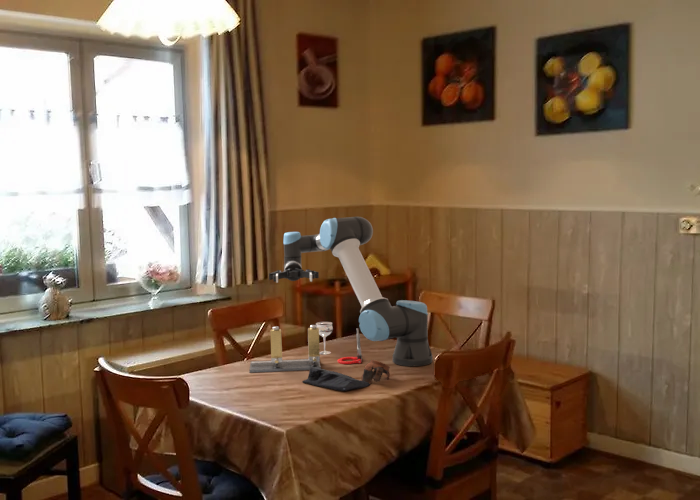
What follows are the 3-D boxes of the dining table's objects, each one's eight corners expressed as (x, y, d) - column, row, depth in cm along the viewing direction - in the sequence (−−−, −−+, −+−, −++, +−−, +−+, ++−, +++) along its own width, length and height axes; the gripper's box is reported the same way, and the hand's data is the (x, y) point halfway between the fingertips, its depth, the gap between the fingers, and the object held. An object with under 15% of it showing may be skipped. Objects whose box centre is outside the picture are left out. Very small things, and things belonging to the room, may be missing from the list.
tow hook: (337, 365, 285) (361, 364, 285) (334, 332, 284) (359, 331, 283) (338, 360, 294) (362, 358, 293) (336, 327, 292) (360, 326, 292)
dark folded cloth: (341, 396, 248) (340, 382, 248) (298, 383, 264) (298, 369, 264) (374, 386, 258) (373, 372, 258) (331, 374, 274) (331, 361, 274)
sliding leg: (282, 359, 286) (281, 325, 284) (282, 365, 278) (281, 329, 277) (271, 360, 285) (270, 325, 284) (271, 365, 278) (270, 330, 277)
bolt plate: (318, 360, 291) (317, 321, 289) (320, 369, 279) (319, 328, 277) (250, 363, 288) (249, 324, 287) (249, 372, 277) (247, 331, 275)
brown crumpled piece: (356, 379, 267) (365, 357, 269) (380, 389, 268) (388, 368, 270) (365, 380, 255) (374, 357, 257) (390, 391, 257) (398, 368, 259)
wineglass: (318, 350, 307) (317, 321, 305) (334, 350, 306) (333, 321, 304) (315, 354, 300) (314, 325, 299) (331, 355, 299) (331, 325, 298)
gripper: (322, 278, 323) (325, 286, 303) (264, 280, 321) (263, 289, 300) (322, 261, 323) (325, 268, 302) (263, 263, 320) (262, 270, 299)
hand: (294, 278), depth 301 cm, fingers open, 13 cm apart
